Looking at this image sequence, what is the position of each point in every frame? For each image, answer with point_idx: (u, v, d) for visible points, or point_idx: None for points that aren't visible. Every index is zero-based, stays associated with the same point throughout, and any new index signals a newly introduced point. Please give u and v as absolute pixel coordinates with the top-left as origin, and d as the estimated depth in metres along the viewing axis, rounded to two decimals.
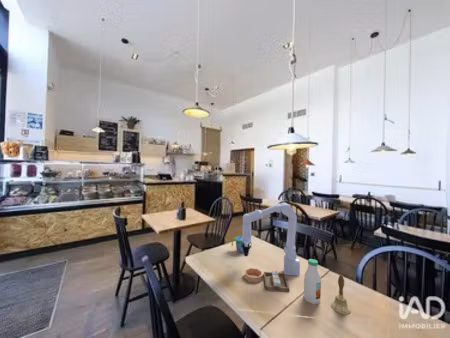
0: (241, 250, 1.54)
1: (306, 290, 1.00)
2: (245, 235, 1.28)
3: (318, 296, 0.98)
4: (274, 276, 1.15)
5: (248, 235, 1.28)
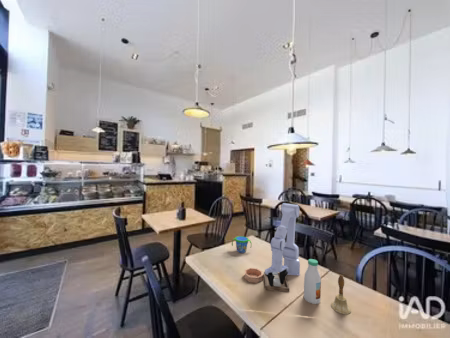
0: (241, 250, 1.54)
1: (306, 290, 1.00)
2: (272, 262, 1.10)
3: (318, 296, 0.98)
4: None
5: (274, 263, 1.09)
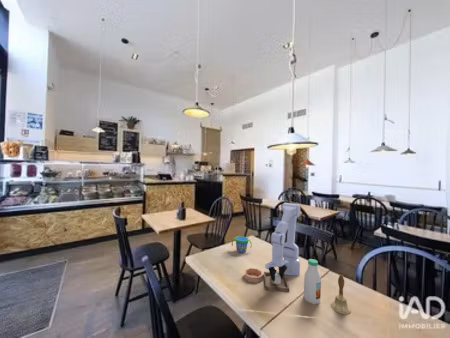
0: (241, 250, 1.54)
1: (306, 290, 1.00)
2: (272, 256, 1.10)
3: (318, 296, 0.98)
4: None
5: (274, 258, 1.09)
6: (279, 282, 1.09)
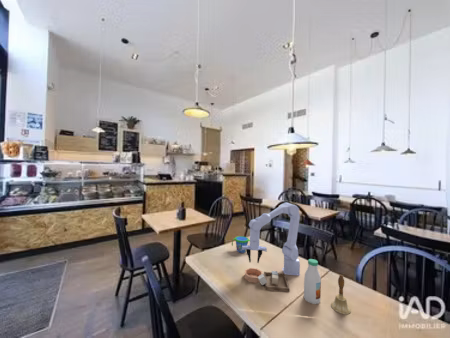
0: (241, 250, 1.54)
1: (306, 290, 1.00)
2: None
3: (318, 296, 0.98)
4: (273, 276, 1.15)
5: (250, 241, 1.21)
6: None
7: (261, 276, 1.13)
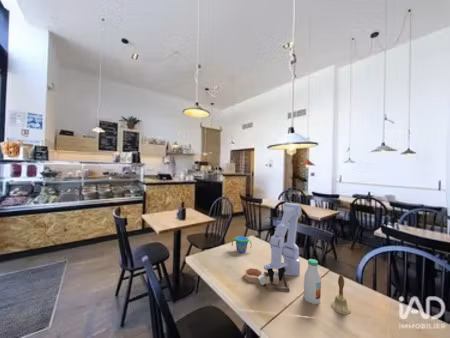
0: (241, 250, 1.54)
1: (306, 290, 1.00)
2: (271, 258, 1.15)
3: (318, 296, 0.98)
4: (274, 276, 1.15)
5: (273, 260, 1.13)
6: None
7: (261, 276, 1.13)
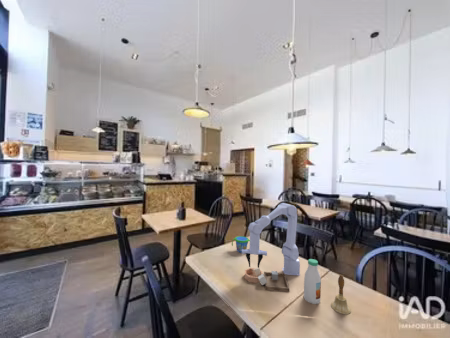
0: (241, 250, 1.54)
1: (306, 290, 1.00)
2: None
3: (318, 296, 0.98)
4: None
5: (250, 245, 1.17)
6: None
7: (261, 276, 1.13)
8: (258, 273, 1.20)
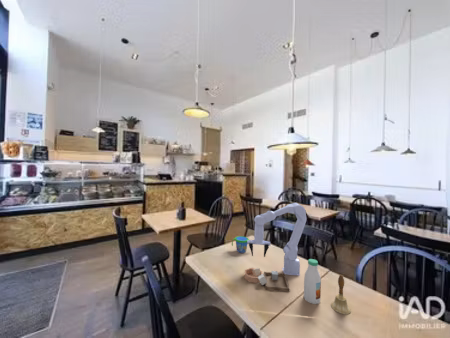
0: (241, 250, 1.54)
1: (306, 290, 1.00)
2: None
3: (318, 296, 0.98)
4: None
5: (254, 236, 1.27)
6: None
7: (261, 276, 1.13)
8: (258, 273, 1.20)
